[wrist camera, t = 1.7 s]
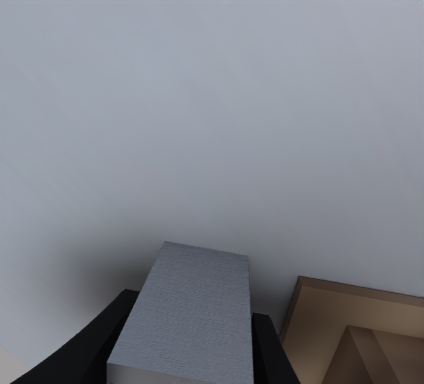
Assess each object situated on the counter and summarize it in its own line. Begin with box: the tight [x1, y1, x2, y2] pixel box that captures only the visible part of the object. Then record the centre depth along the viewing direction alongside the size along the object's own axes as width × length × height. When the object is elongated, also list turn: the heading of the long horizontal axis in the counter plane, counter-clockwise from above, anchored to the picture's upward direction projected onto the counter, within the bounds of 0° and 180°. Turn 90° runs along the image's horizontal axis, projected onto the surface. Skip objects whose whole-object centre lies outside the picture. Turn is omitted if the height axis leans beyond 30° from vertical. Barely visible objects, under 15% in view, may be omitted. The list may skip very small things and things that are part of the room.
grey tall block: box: [107, 241, 254, 384], centre depth 10 cm, size 4×5×6 cm
